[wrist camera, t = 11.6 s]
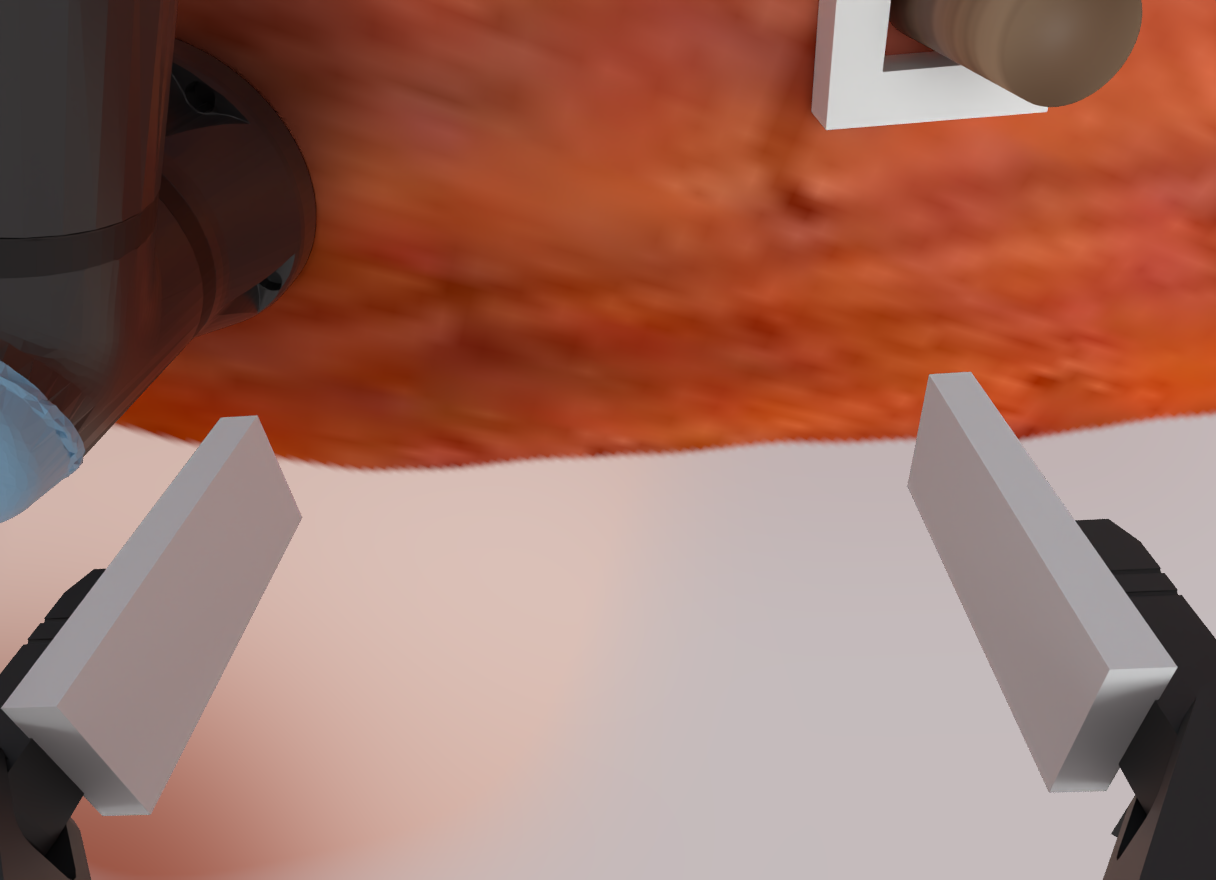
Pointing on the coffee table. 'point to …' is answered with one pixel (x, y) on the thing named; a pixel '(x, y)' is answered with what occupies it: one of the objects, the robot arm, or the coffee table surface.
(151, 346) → the robot arm
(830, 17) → the station
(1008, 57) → the peg
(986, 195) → the coffee table surface
